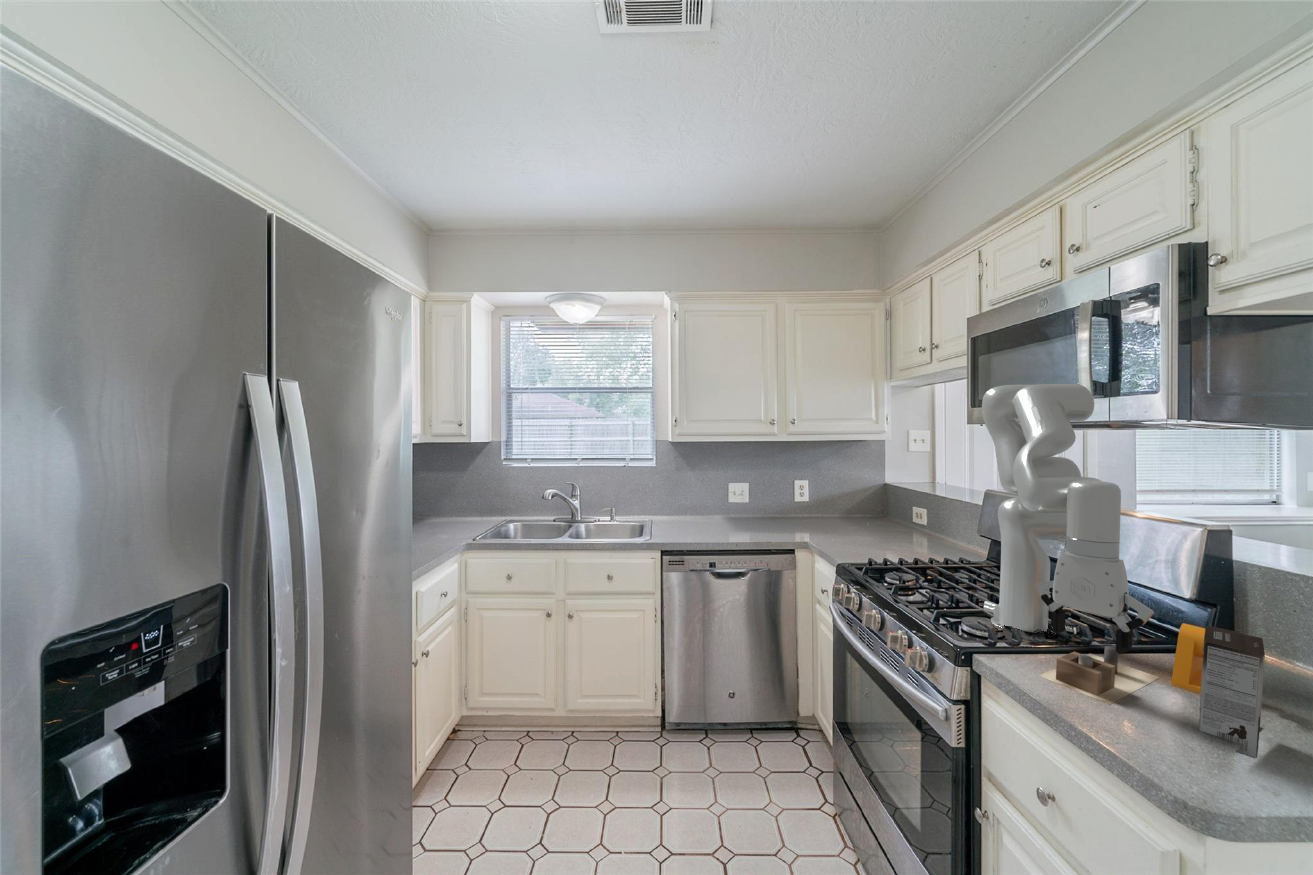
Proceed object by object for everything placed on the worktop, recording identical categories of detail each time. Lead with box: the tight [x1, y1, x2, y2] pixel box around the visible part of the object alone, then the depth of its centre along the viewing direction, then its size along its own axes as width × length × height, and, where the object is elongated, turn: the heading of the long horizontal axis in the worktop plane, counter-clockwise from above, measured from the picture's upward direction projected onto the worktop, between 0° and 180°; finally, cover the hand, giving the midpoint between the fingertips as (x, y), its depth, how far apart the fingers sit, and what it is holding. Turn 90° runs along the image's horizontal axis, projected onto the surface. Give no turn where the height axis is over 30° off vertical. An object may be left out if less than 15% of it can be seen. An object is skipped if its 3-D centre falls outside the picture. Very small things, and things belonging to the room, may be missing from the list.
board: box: [1038, 645, 1161, 706], centre depth 98 cm, size 11×20×6 cm, turn 118°
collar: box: [1055, 651, 1115, 696], centre depth 96 cm, size 6×6×4 cm
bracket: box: [1170, 622, 1205, 695], centre depth 95 cm, size 11×7×12 cm, turn 123°
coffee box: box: [1198, 625, 1266, 759], centre depth 82 cm, size 9×6×16 cm
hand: (1089, 641), depth 95 cm, fingers open, 9 cm apart
